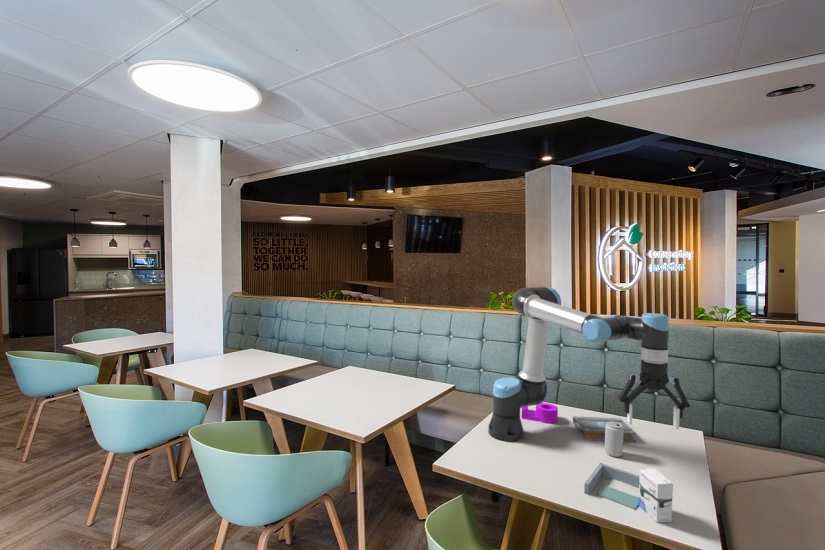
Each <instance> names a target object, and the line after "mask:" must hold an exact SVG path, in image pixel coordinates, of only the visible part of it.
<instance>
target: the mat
mask: <svg viewBox="0 0 825 550" xmlns="http://www.w3.org/2000/svg"><path fill="white" fill-rule="evenodd" d="M597 496H599V497H602V498H604V499H607V500H609V501H613V502H614V503H615V502H616V503H618V504H620V505H623V506H624V507H625V506H626V507H627V508H630V509H633V510H636V509H637V508H638V506H639V505H638V500H639V496H636V495H632V494H629V493H627V492H624V491H622V490H619V489H616V488H614V487H611V486H609V485H606V484H603V485H602V486H601V488H600V490H599V491H598V493H597Z"/></svg>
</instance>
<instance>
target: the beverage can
mask: <svg viewBox="0 0 825 550" xmlns="http://www.w3.org/2000/svg"><path fill="white" fill-rule="evenodd" d="M623 432H624V429H623V425H622V424H620V423H618V422H613V421H609V422H607V424H606V425H605V440H604V452H605V453H606V455H608V456H611V457H614V458H620V457H622V456H623V455H624V453H623V452H624V441H623Z"/></svg>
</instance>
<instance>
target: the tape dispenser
mask: <svg viewBox="0 0 825 550" xmlns="http://www.w3.org/2000/svg"><path fill="white" fill-rule="evenodd" d="M558 412H559V408H558V406H556V405H554V404H552V403H548V402H547V403H546V402H543V403H540V404H538V405H535V409H529V406H527V407H523V408H521V419H522V420H526V419H527V421H532V420H533V422H538V421H539V423H543V424H548V425H551V424H552V425H553V424H557V423H558V420H559V419H558V414H559V413H558Z"/></svg>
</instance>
